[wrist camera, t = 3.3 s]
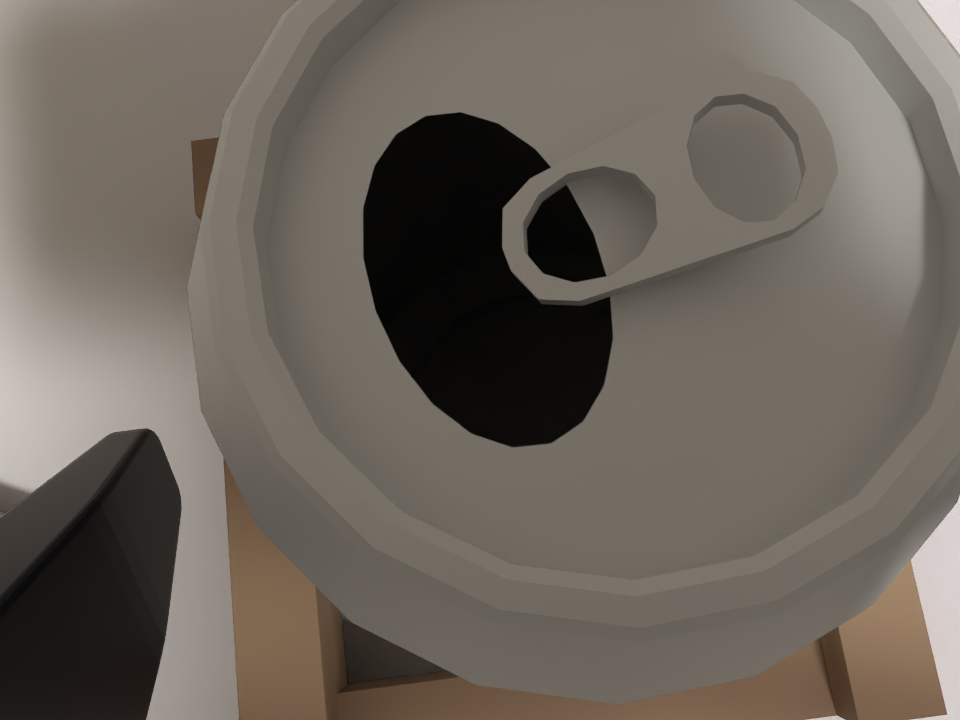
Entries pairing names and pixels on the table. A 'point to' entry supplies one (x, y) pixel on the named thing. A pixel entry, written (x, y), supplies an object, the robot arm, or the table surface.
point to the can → (590, 324)
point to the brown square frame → (531, 716)
